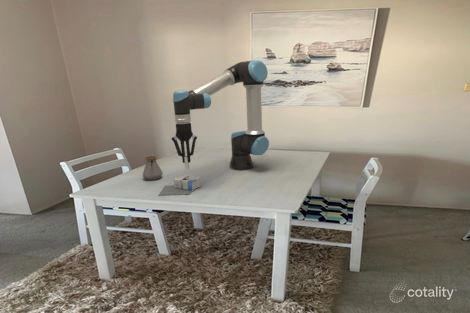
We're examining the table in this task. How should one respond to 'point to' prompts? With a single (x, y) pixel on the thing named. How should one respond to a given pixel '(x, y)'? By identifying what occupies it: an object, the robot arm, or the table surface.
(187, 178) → the ink box
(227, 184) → the table surface
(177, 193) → the mat
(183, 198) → the table surface
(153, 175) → the coffee pot
